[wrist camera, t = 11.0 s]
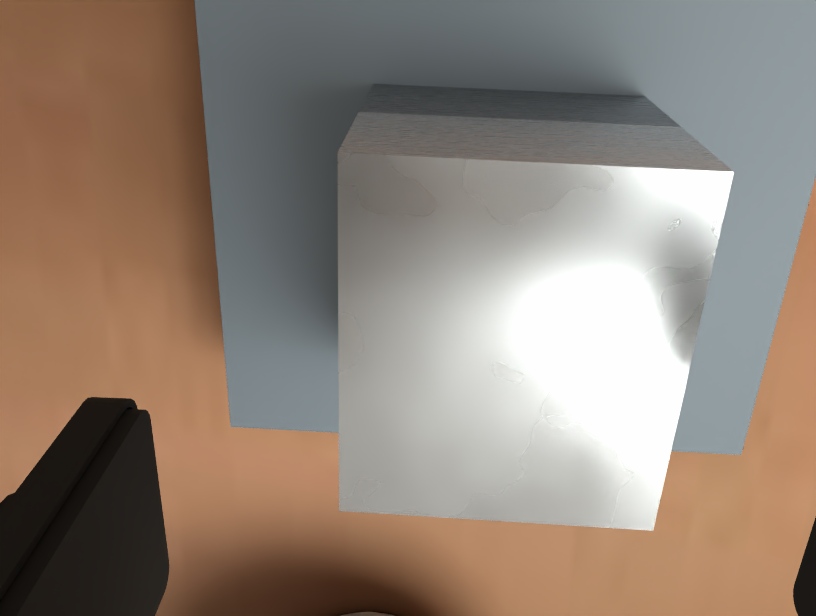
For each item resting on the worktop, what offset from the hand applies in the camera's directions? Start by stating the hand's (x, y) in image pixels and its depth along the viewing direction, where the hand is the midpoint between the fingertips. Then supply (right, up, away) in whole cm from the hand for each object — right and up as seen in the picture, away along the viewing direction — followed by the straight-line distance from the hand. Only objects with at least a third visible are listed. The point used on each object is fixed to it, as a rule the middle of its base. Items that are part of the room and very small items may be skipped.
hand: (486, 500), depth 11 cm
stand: (+1, +6, +12) cm, 13 cm away
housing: (+1, +4, +8) cm, 9 cm away
